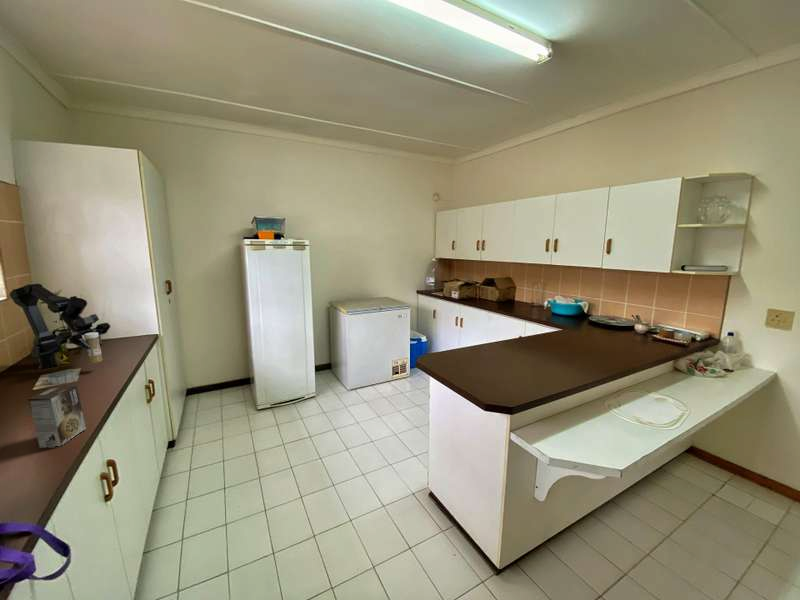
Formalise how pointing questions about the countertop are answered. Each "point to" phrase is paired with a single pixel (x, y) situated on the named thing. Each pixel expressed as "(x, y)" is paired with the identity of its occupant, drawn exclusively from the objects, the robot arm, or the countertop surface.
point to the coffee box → (57, 415)
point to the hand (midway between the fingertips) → (95, 347)
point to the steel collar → (62, 376)
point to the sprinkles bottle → (93, 347)
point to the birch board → (44, 381)
